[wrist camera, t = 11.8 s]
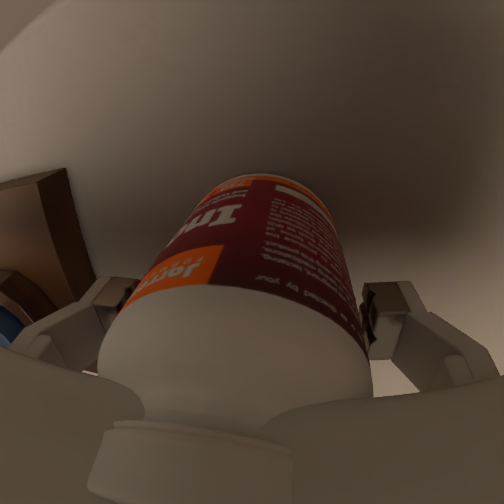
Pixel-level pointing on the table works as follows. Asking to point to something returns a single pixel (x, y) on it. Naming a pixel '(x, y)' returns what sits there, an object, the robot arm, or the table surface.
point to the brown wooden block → (41, 248)
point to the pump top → (9, 327)
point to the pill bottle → (230, 348)
